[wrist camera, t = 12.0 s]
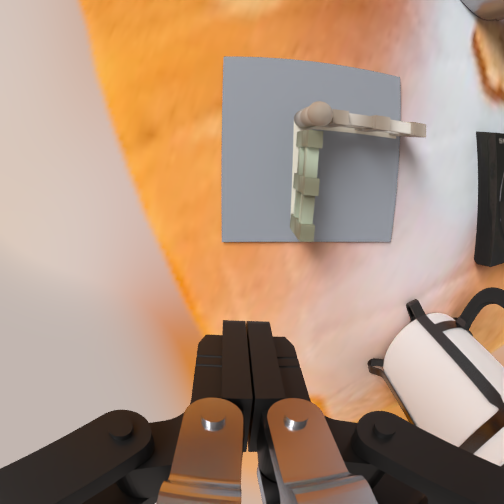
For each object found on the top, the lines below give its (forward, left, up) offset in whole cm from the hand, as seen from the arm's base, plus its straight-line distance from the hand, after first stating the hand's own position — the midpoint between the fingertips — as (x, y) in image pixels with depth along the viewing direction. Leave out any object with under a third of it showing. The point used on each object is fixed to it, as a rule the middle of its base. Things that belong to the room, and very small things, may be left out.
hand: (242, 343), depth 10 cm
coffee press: (-24, +16, -21) cm, 36 cm away
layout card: (-8, -6, -21) cm, 23 cm away
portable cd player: (-38, -4, -22) cm, 44 cm away
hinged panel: (-6, -3, -20) cm, 22 cm away
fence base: (-11, -9, -21) cm, 25 cm away
